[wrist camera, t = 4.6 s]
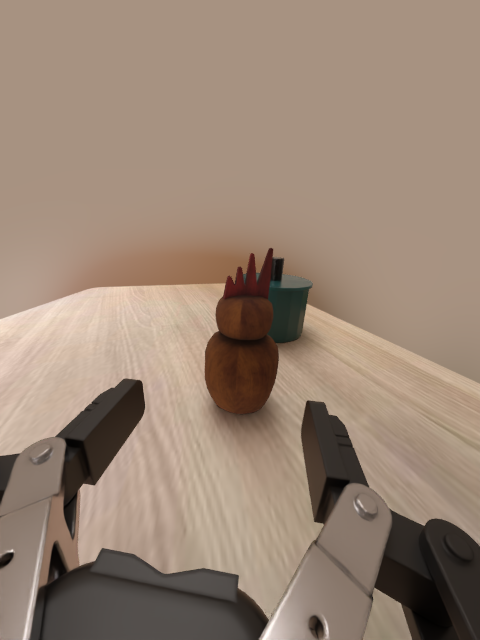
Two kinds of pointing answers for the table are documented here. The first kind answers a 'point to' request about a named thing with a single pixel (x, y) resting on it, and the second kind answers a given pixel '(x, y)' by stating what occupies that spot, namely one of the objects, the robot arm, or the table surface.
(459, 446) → the table surface
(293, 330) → the pot
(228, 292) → the wooden figurine
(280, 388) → the table surface
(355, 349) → the table surface
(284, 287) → the pot lid
